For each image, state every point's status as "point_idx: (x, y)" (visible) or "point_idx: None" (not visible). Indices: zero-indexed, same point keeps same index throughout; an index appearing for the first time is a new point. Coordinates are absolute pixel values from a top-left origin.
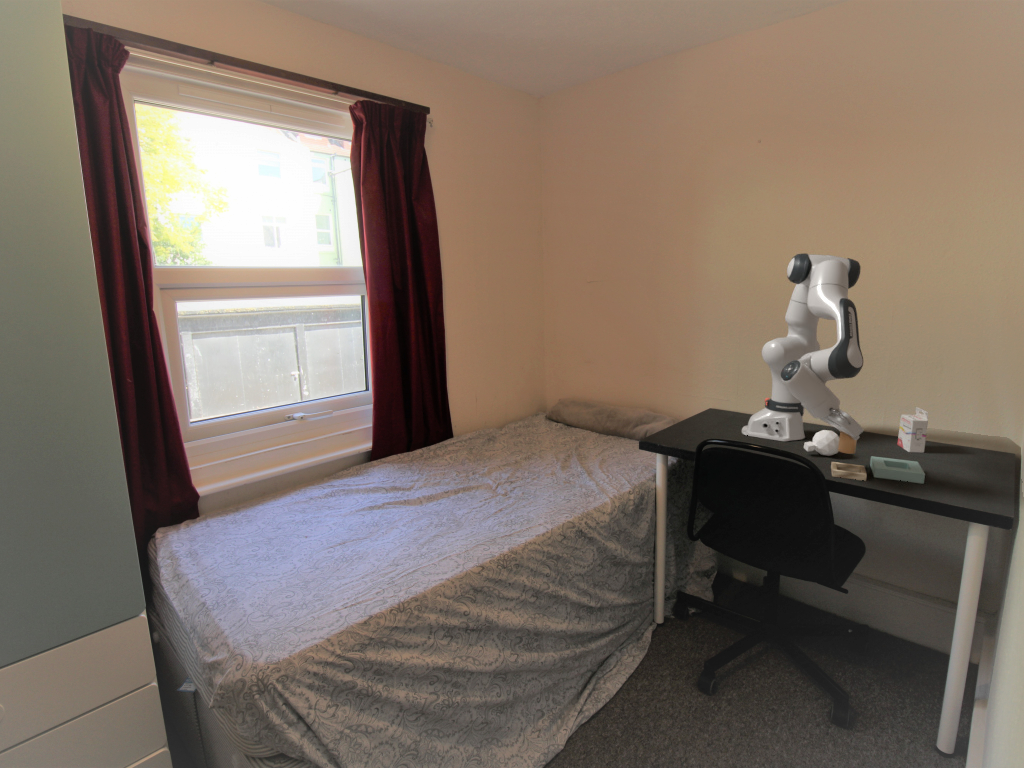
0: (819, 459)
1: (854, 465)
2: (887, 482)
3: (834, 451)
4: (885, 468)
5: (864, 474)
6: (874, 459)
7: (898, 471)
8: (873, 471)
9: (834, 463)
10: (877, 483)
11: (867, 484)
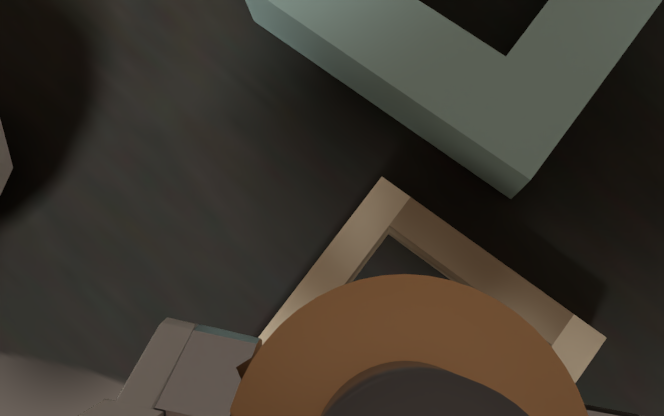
0: (30, 322)
1: (359, 255)
2: (635, 188)
3: (5, 165)
4: (560, 104)
5: (595, 351)
6: (322, 16)
7: (628, 43)
8: (448, 147)
9: None
10: (648, 284)
11: (661, 387)
